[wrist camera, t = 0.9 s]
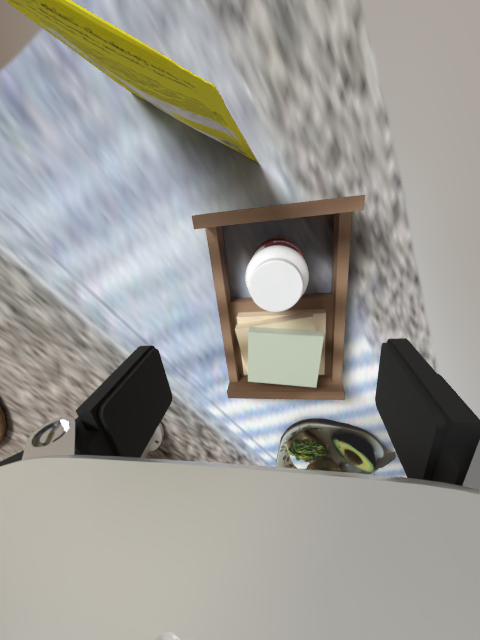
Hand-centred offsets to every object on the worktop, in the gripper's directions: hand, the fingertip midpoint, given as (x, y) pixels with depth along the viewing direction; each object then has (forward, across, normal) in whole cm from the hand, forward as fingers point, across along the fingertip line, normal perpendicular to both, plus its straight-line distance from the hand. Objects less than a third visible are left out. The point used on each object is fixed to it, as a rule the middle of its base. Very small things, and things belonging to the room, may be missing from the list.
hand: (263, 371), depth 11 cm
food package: (+24, +8, -14) cm, 29 cm away
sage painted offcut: (+19, 0, +11) cm, 22 cm away
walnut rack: (+23, 0, +6) cm, 24 cm away
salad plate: (+24, -6, +35) cm, 42 cm away
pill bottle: (+24, 0, +1) cm, 24 cm away
